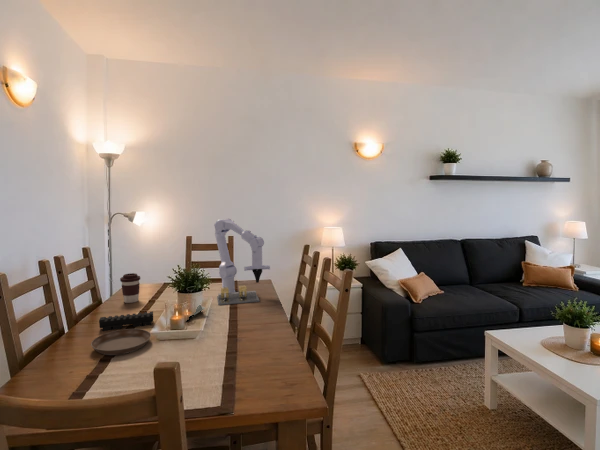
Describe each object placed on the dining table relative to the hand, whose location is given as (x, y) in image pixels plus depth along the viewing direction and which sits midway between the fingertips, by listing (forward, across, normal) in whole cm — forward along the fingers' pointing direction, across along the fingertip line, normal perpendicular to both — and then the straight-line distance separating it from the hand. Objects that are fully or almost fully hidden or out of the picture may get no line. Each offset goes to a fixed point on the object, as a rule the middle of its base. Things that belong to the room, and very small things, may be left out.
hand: (257, 282), depth 201 cm
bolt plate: (+8, -11, -3) cm, 14 cm away
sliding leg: (+7, -8, -2) cm, 11 cm away
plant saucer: (+9, -60, -52) cm, 80 cm away
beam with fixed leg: (+8, -11, -2) cm, 14 cm away
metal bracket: (+9, -36, -22) cm, 44 cm away
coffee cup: (+9, -68, +11) cm, 70 cm away
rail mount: (+9, -63, -29) cm, 70 cm away
